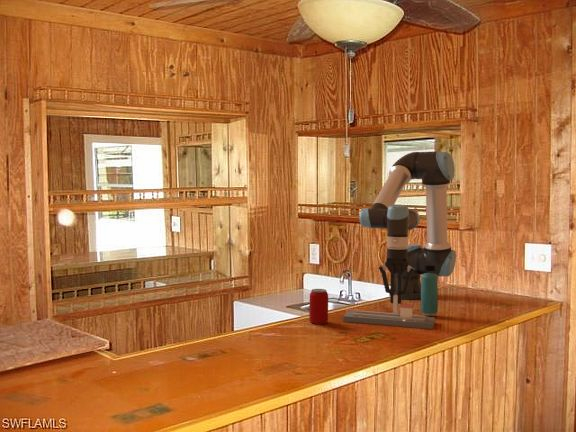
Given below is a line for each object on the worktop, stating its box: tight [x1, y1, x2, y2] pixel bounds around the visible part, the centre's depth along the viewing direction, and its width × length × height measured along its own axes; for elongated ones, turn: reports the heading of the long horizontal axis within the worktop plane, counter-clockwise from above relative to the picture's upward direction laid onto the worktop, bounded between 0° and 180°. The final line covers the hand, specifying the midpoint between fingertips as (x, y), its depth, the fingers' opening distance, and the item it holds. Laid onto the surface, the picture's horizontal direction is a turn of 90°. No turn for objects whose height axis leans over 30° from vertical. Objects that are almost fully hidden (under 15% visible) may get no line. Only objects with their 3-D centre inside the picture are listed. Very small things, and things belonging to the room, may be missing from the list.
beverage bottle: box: [420, 265, 439, 315], centre depth 234 cm, size 6×7×20 cm
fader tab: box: [399, 302, 414, 318], centre depth 222 cm, size 3×4×5 cm
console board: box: [342, 310, 436, 330], centre depth 224 cm, size 10×32×3 cm, turn 72°
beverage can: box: [308, 288, 329, 325], centre depth 222 cm, size 7×7×12 cm
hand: (395, 312), depth 223 cm, fingers closed
